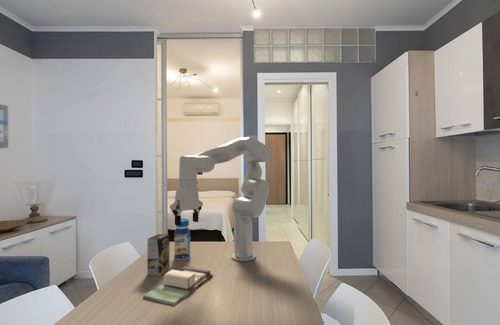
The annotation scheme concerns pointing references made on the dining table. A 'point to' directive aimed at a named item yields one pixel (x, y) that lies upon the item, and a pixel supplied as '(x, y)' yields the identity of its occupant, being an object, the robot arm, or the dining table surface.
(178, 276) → the stub
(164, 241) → the coffee box
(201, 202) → the robot arm
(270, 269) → the dining table surface
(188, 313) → the dining table surface
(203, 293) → the dining table surface
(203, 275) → the board
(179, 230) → the beverage bottle
